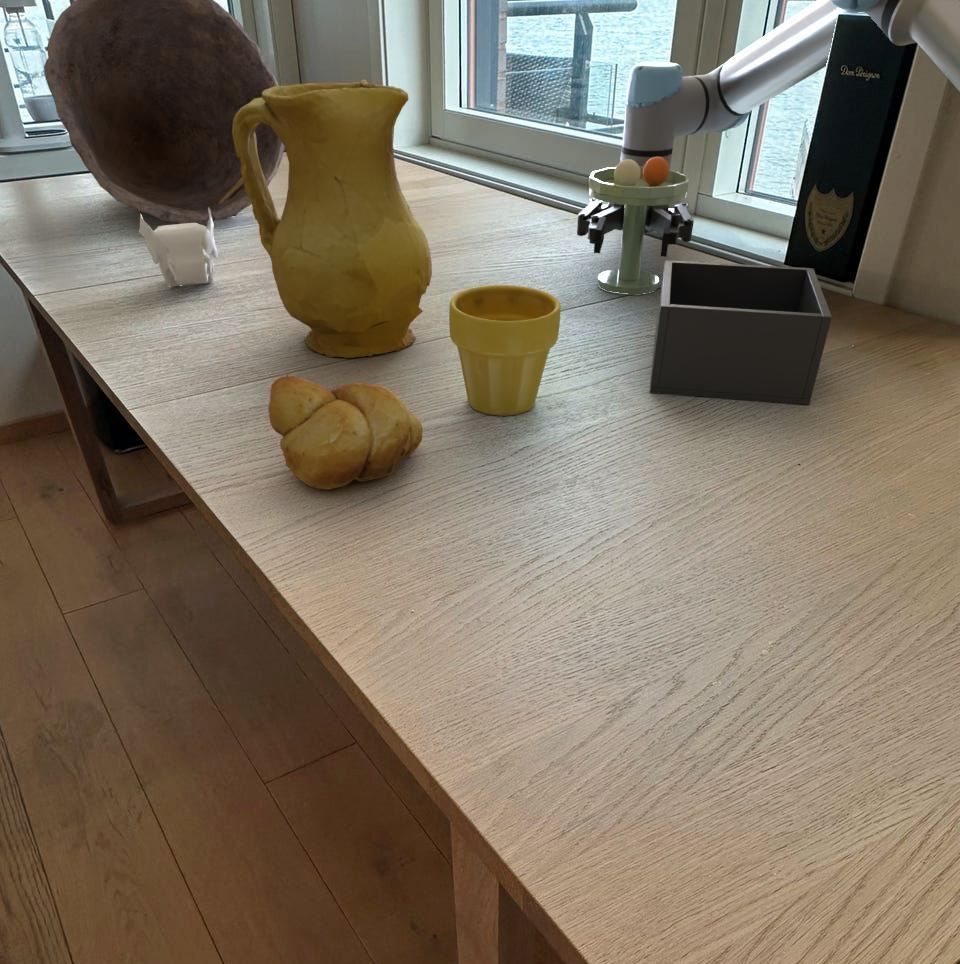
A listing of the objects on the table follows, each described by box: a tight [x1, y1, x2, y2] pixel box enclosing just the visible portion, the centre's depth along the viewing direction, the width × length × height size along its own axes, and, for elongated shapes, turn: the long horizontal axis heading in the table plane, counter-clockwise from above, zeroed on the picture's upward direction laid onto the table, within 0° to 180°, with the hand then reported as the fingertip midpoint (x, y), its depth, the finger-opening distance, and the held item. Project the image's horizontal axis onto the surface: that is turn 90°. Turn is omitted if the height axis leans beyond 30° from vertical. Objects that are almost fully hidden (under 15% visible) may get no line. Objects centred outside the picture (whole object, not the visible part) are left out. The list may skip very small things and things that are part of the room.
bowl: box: [43, 0, 285, 224], centre depth 142 cm, size 34×35×30 cm
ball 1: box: [614, 159, 640, 186], centre depth 105 cm, size 3×3×3 cm
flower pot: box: [448, 284, 562, 417], centre depth 82 cm, size 10×10×10 cm
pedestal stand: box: [588, 167, 690, 295], centre depth 110 cm, size 12×12×13 cm
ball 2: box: [643, 157, 669, 186], centre depth 106 cm, size 3×3×3 cm
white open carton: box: [138, 207, 219, 288], centre depth 111 cm, size 10×12×9 cm
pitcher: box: [232, 79, 433, 359], centre depth 91 cm, size 17×19×25 cm
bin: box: [649, 259, 833, 406], centre depth 89 cm, size 16×16×9 cm
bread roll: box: [268, 374, 423, 490], centre depth 71 cm, size 13×10×8 cm
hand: (631, 243), depth 106 cm, fingers open, 8 cm apart
